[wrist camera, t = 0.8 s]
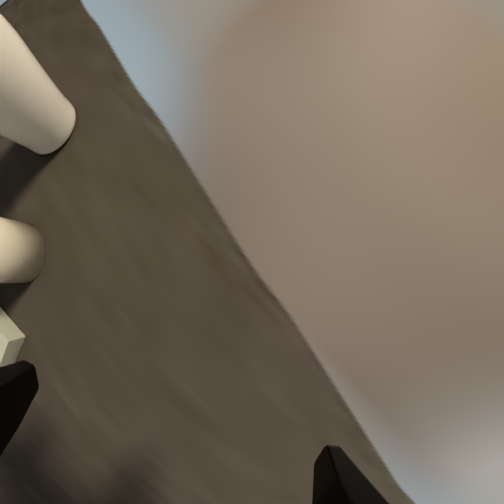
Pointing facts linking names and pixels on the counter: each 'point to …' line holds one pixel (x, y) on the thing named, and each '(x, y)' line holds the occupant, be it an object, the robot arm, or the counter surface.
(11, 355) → the tray
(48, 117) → the drinking glass
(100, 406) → the counter surface
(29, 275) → the shaker
